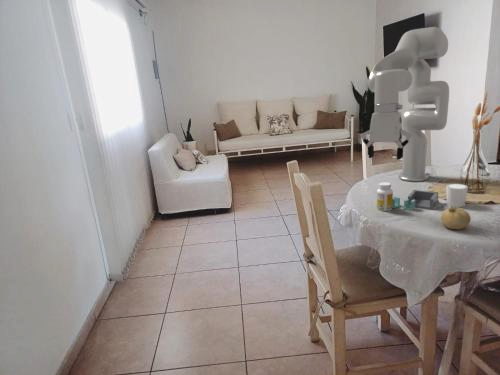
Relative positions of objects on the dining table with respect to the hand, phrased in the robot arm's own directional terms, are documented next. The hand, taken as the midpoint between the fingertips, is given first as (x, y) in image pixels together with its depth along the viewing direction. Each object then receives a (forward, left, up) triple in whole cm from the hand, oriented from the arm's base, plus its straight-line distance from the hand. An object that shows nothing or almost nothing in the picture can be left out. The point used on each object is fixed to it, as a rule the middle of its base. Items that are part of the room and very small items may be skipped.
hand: (384, 158), depth 125 cm
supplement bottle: (0, 0, -20) cm, 20 cm away
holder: (-10, +11, -19) cm, 24 cm away
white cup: (-14, +21, -20) cm, 32 cm away
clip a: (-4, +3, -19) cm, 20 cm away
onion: (+7, +24, -20) cm, 32 cm away
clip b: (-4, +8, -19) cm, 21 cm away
